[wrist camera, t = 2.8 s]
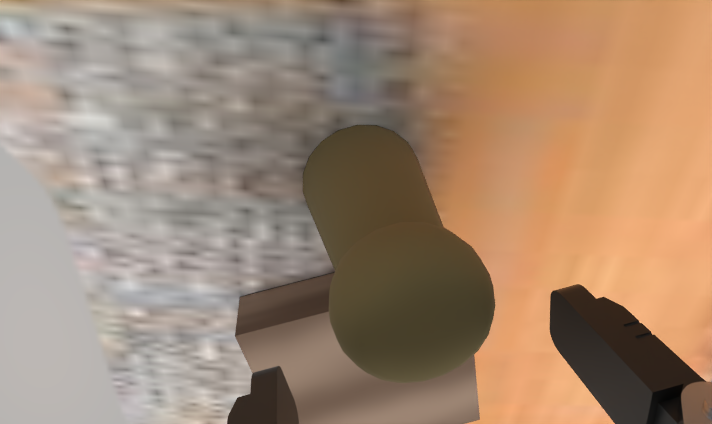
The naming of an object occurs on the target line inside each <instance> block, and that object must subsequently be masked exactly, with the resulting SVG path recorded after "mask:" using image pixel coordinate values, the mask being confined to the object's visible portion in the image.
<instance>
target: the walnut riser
mask: <svg viewBox="0 0 712 424" xmlns="http://www.w3.org/2000/svg"><path fill="white" fill-rule="evenodd" d="M333 275H334V273H331V274H327V275H324V276H320V277H316V278H312V279H308V280H304V281H300V282H297V283H293V284H289V285H285V286H281V287H277V288H273V289H269V290H266V291H262V292H258V293H254V294H250V295H246V296H242V297H240V301H239V309H238V317H237V325H236V333H235V337H236V339H237V341H238V343H239V345H240V347H241V350H242V352H243V354H244V356H245V358H246V360H247V362H248V364H249V366H250V369H251V371H252V373H254V372H258V371H261V370H265V369H269V368H272V367H276V366H280V367H281V369H282V371H283V374H284V376H285V378H286V381H287V383H288V386H289V388H290V391H291V393H292V395H293V398H294V400H295V404H296V407H297V412H298V418H299V424H465V423H469V422H473V421H476V420H480V416H479V405H478V393H477V382H476V370H475V359H474V355H473V356H471V357H470V358H469V359H468V360H467V361H466V362H465V363H464V364H462V365H461V366H459V367H457V368H455V369H454V370H452V371H450V372H448V373H446V374H445V375H442V376H439V377H436V378H432V379H429V380H426V381H422V382H410V383H398V382H391V381H385V380H381V379H379V378H377V377H375V376H372V375H370V374H368V373H366V372H365V371H363V370H362V369H361V368H359V367H358V366H357V365H356V364H355V363H354V362H353V361H352V360H351V359H350V358H349V357H348V356H347V355H346V354H345V353H344V352H343V351H342V349H341V347H340V345H339V343H338V341H337V339H336V336H335V333H334V331H333V328H332V326H331V323H330V316H329V290H330V285H331V281H332V277H333Z"/></svg>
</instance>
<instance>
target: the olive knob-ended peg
mask: <svg viewBox="0 0 712 424" xmlns="http://www.w3.org/2000/svg"><path fill="white" fill-rule="evenodd" d="M303 194H304V196H305V199H306V202H307V205H308V208H309V210H310V212H311V215H312V217H313V219H314V222H315V224H316V227H317V229H318V231H319V234H320V236H321V238H322V241H323V243H324V246H325V248H326V250H327V253H328V255H329V257H330V260H331V262H332V264H333V267H334V269H335V273H334V275H333V277H332V281H331V285H330V290H329V316H330V323H331V326H332V328H333V331H334V333H335V336H336V339H337V341H338V343H339V345H340V347H341V349H342V351H343V352H344V353H345V354H346V355H347V356H348V357H349V358H350V359H351V360H352V361H353V362H354V363H355V364H356V365H357V366H358V367H359V368H361V369H362V370H363V371H365V372H366V373H368V374H370V375H372V376H375V377H377V378H379V379H381V380H385V381H391V382H398V383H410V382H422V381H426V380H429V379H432V378H436V377H439V376H442V375H445V374H446V373H448V372H450V371H452V370H454V369H455V368H457V367H459V366H461V365H462V364H464V363H465V362H466V361H467V360H468V359H469V358H470V357H471V356H473V355H474V354H475V353H476V352H477V351H478V350H479V348H480V347H481V345H482V344H483V342H484V341H485V339H486V338H487V336H488V334H489V331H490V327H491V324H492V320H493V316H494V310H495V299H494V291H493V285H492V281H491V278H490V274H489V273H488V271H487V269H486V267H485V266H484V264H483V262H482V261H481V259H480V257H479V256H478V255H477V253H476V252H475V251H474V249H473V248H472V247H471V246H470V245H469V244H467V243H466V242H465V241H463V240H462V239H460V238H459V237H458V236H456V235H455V234H453V233H452V232H450V231H449V230H447V229H446V228H444V227H443V225H442V222H441V219H440V217H439V214H438V212H437V209H436V206H435V204H434V201H433V198H432V196H431V193H430V191H429V188H428V185H427V183H426V180H425V177H424V175H423V172H422V170H421V167H420V164H419V162H418V159H417V157H416V155H415V154H414V152H413V150H412V149H411V147H410V145H409V144H408V142H406V141H405V140H404V139H403V138H401V137H400V136H399V135H398V134H396V133H395V132H394V131H391V130H388V129H385V128H382V127H379V126H377V125H355V126H352V127H349V128H345V129H342V130H339V131H337V132H335V133H334V134H332V135H331V136H329V137H328V138H326V139H325V140H323V141H322V142H321V143H320V144H319V145H318V146H317V148H316V149H315V150H314V152H313V153H312V154H311V155H310V157H309V159H308V162H307V164H306V167H305V170H304V173H303Z"/></svg>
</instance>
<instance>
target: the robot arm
mask: <svg viewBox="0 0 712 424" xmlns="http://www.w3.org/2000/svg"><path fill="white" fill-rule="evenodd" d="M550 334H551V337H552V340H553V342H554V345H555V346H556V348H557V350H558V351H559V352H560V354H561V355H562V356H563V358H564V359H565V360H566V361H567V363H568V364H569V365H570V366H571V368H572V369H573V370H574V372H575V373H576V374H577V375H578V377H579V378H580V379H581V381H582V382H583V383H584V384H585V386H586V387H587V388H588V390H589V391H590V392H591V393H592V395H593V396H594V397H595V399H596V400H597V401H598V402H599V404H600V405H601V406H602V407H603V409H604V410H605V411H606V413H607V414H608V415H609V416H610V418H611V419H612V420H613V422H614V423H615V424H712V382H706V381H705V380H704V379H702V378H701V377H700V376H699V375H698V374H697V373H696V372H695V371H693V370H692V369H691V368H690V367H689V366H688V365H687V364H686V363H685V362H684V361H682V360H681V359H680V358H679V357H678V356H677V355H676V354H675V353H674V352H673V351H672V350H670V349H669V348H668V347H667V346H666V345H665V344H664V343H663V342H662V341H661V340H659V339H658V338H657V337H656V336H655V335H652V334H651V331H650V330H649V329H647V328H646V327H645V326H644V325H643V324H642V323H639V320H638V319H636V318H635V317H634V316H633V315H632V314H631V313H630V312H629V311H628V310H627V309H626V308H624V307H623V306H621V305H619V304H617V303H615V302H613V301H611V300H609V299H607V298H605V297H602V298H598V299H596V298H595V297H594V296H593V295H592V294H591V293H590V292H589V291H588V290H587V289H586V288H584V287H583V286H582V285H579V284H577V285H573V286H570V287H566V288H562V289H559V290H555V291H553V292H552V293H551V301H550ZM227 424H299V418H298V412H297V407H296V404H295V400H294V398H293V395H292V393H291V391H290V388H289V386H288V383H287V381H286V378H285V376H284V374H283V371H282V369H281V367H280V366H276V367H272V368H269V369H265V370H261V371H258V372H254V373H253V374H252V379H251V394H249V395H245V396H242V397H238V398H237V400H236V402H235V404H234V406H233V408H232V410H231V412H230V414H229V416H228V421H227Z"/></svg>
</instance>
